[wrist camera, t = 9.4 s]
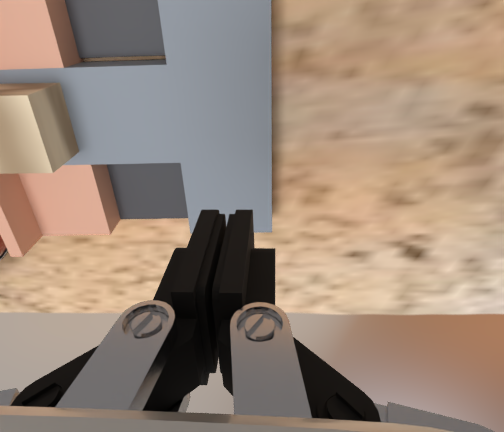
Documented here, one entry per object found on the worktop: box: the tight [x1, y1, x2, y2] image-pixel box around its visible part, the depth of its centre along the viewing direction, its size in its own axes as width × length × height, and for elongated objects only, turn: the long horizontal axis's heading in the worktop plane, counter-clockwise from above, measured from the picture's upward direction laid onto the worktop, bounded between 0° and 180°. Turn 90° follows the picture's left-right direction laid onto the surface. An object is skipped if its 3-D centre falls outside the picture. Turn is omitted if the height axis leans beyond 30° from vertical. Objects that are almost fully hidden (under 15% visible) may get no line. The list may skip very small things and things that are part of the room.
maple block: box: [0, 83, 79, 174], centre depth 24 cm, size 5×5×4 cm
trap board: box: [0, 0, 272, 257], centre depth 26 cm, size 21×20×6 cm
